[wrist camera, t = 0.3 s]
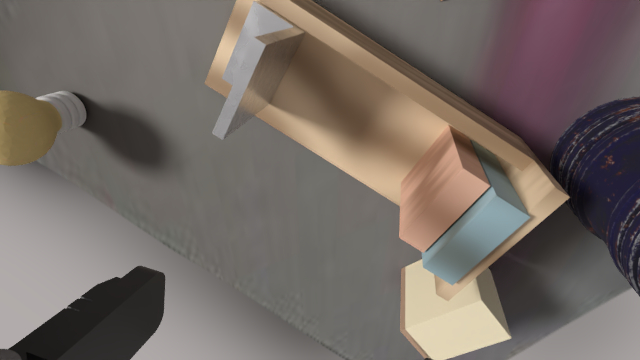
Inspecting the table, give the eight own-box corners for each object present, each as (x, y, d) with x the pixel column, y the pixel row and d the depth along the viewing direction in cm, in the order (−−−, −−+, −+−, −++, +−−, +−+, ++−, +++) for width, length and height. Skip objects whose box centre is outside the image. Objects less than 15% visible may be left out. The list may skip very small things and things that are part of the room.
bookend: (257, 0, 28) (197, 1, 20) (305, 32, 28) (265, 44, 20) (225, 76, 31) (163, 103, 23) (269, 104, 31) (222, 139, 23)
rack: (256, -37, 28) (181, -54, 18) (520, 137, 29) (573, 201, 20) (209, 81, 33) (133, 113, 23) (437, 224, 34) (448, 306, 25)
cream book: (466, 238, 34) (481, 300, 27) (490, 271, 35) (511, 338, 28) (401, 268, 37) (400, 330, 30) (425, 297, 38) (429, 364, 31)
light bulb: (104, 144, 38) (15, 186, 30) (51, 127, 39) (-52, 164, 30) (100, 85, 35) (-1, 114, 27) (42, 68, 36) (-76, 90, 27)
